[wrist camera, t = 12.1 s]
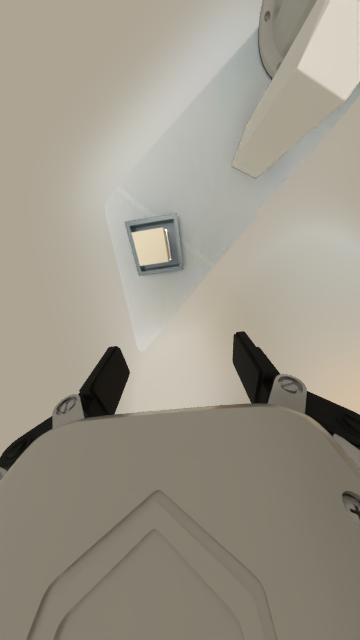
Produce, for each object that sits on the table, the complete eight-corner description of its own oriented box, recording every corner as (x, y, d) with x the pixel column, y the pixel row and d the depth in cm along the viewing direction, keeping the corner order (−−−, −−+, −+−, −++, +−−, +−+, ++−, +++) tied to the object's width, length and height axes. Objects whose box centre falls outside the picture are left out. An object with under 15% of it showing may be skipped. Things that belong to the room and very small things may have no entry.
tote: (177, 217, 34) (176, 213, 29) (182, 266, 39) (183, 269, 34) (132, 225, 35) (124, 221, 30) (143, 271, 40) (138, 275, 35)
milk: (245, 125, 27) (415, -181, 8) (272, 140, 28) (485, -99, 9) (230, 167, 30) (328, 18, 10) (255, 179, 31) (388, 64, 11)
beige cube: (165, 230, 30) (162, 227, 24) (170, 258, 33) (168, 261, 27) (140, 234, 30) (131, 232, 25) (146, 262, 33) (139, 266, 27)
